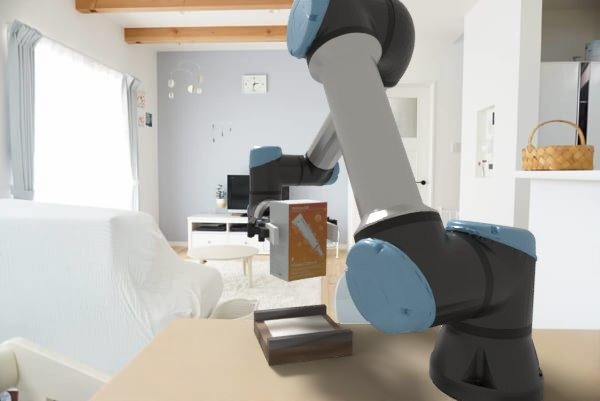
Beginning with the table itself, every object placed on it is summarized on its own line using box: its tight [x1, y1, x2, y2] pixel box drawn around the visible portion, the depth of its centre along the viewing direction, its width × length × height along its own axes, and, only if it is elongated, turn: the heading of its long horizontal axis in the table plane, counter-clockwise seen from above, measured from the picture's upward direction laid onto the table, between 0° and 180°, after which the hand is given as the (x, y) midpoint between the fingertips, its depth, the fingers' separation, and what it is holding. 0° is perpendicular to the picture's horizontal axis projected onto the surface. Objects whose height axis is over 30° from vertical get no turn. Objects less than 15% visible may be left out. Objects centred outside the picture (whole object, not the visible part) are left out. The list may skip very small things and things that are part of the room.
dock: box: [253, 303, 354, 366], centre depth 74 cm, size 14×14×4 cm
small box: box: [269, 198, 328, 283], centre depth 73 cm, size 8×6×13 cm
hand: (306, 235), depth 68 cm, fingers closed on small box, 9 cm apart
